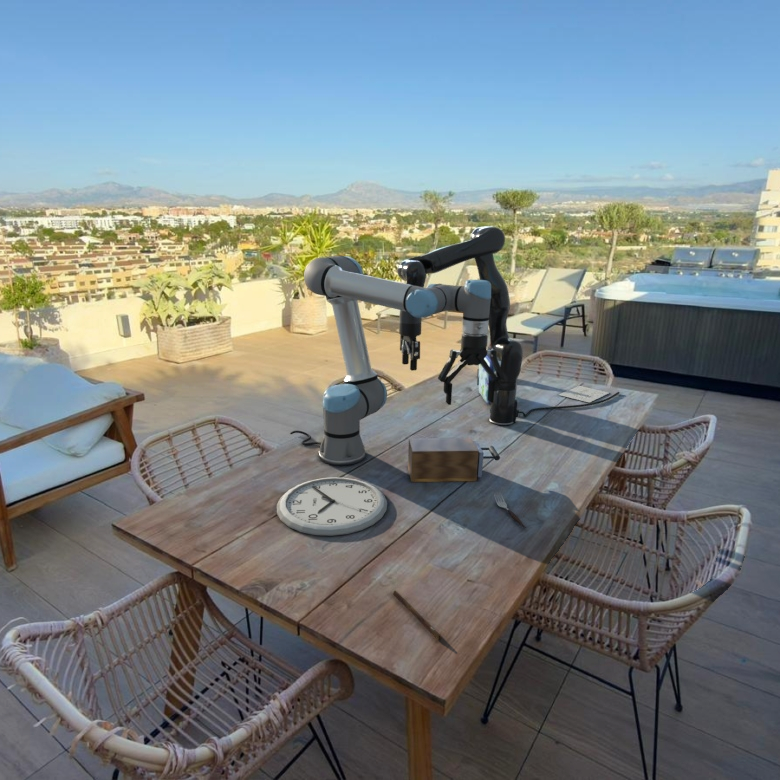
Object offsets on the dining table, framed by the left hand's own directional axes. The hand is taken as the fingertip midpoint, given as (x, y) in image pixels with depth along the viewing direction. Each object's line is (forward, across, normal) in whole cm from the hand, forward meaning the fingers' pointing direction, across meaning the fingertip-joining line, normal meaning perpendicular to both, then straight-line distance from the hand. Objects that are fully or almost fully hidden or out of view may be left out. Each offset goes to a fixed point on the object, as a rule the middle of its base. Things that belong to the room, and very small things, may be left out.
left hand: (469, 402), depth 160 cm
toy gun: (+22, +49, +102) cm, 115 cm away
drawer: (+21, -4, -3) cm, 22 cm away
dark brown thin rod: (+22, -33, -61) cm, 73 cm away
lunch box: (+22, +36, +64) cm, 77 cm away
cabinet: (+22, -9, -2) cm, 24 cm away
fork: (+22, +2, -29) cm, 36 cm away
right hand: (-4, -12, +28) cm, 31 cm away
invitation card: (+22, +82, +64) cm, 106 cm away
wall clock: (+22, -44, -15) cm, 52 cm away
